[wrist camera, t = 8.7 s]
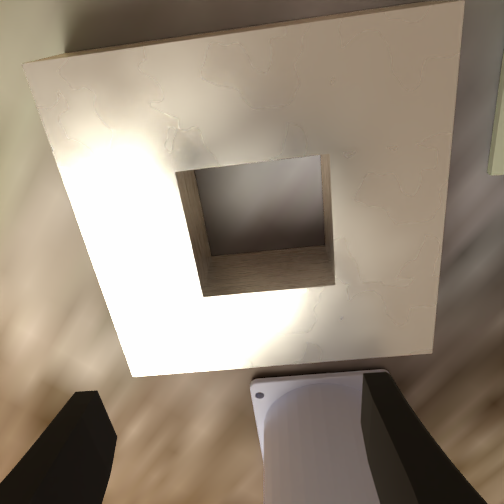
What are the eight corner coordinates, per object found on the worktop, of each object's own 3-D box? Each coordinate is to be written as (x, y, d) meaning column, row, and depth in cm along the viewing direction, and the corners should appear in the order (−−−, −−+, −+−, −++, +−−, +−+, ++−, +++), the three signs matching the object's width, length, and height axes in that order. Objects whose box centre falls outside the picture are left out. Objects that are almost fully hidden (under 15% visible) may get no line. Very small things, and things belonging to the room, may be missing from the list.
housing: (410, 306, 23) (432, 353, 20) (149, 329, 24) (132, 376, 21) (427, 1, 16) (465, 0, 13) (63, 53, 17) (21, 63, 14)
